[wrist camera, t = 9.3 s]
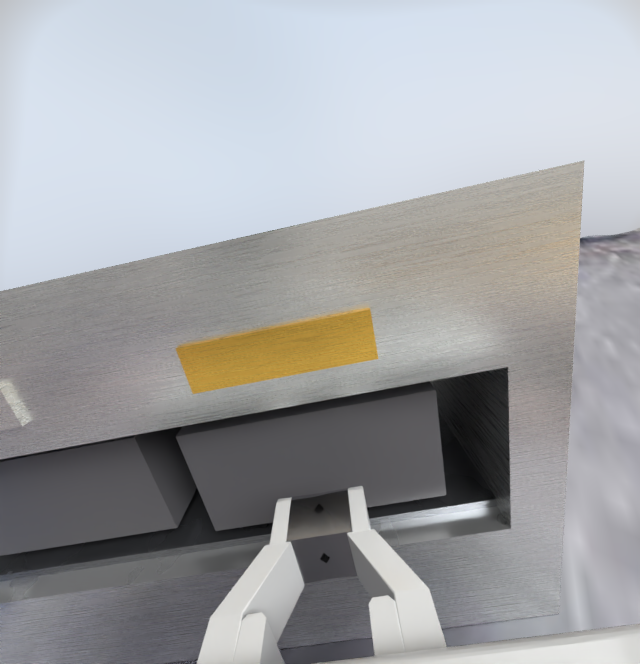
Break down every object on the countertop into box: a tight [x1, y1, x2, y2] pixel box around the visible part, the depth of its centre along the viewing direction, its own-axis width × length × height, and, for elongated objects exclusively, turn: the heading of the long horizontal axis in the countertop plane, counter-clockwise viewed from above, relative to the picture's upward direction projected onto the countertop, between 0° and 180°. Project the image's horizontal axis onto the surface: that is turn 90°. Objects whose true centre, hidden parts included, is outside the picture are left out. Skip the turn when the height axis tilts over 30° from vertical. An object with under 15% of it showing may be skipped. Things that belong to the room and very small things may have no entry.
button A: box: [0, 426, 197, 556], centre depth 16 cm, size 10×5×5 cm, turn 89°
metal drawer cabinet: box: [0, 161, 584, 664], centre depth 16 cm, size 30×9×18 cm, turn 89°
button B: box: [176, 381, 446, 531], centre depth 14 cm, size 10×5×5 cm, turn 89°
